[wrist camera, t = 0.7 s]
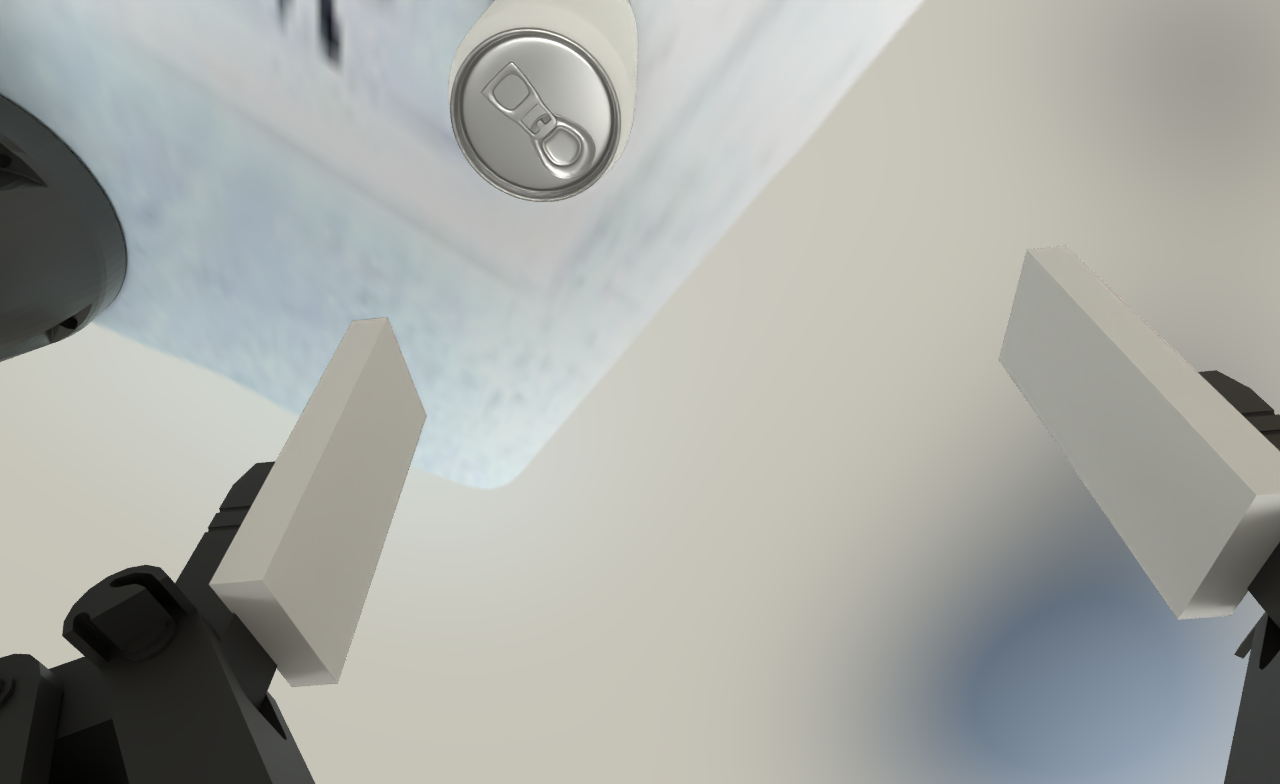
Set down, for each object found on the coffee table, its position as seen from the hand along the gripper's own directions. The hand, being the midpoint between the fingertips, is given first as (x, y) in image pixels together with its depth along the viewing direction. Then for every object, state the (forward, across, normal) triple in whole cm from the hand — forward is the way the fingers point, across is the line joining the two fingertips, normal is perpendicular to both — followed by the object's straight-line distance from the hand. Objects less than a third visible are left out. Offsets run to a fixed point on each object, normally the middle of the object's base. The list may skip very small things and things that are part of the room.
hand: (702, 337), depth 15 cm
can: (+24, -4, +1) cm, 24 cm away
